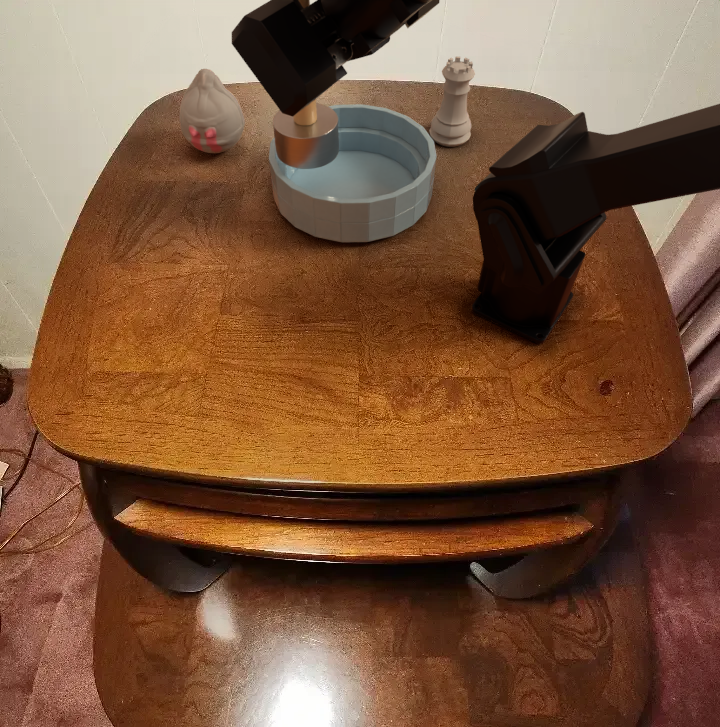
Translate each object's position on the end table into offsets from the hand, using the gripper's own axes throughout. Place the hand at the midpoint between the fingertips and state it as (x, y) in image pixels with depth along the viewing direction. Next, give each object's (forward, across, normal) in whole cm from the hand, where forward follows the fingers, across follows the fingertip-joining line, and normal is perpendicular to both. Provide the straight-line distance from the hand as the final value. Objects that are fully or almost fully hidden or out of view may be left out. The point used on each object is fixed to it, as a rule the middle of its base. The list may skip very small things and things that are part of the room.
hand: (288, 73), depth 50 cm
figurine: (+17, -2, 0) cm, 17 cm away
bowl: (+6, -3, +12) cm, 13 cm away
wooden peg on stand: (+4, 0, +6) cm, 7 cm away
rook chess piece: (+4, -17, +14) cm, 23 cm away
